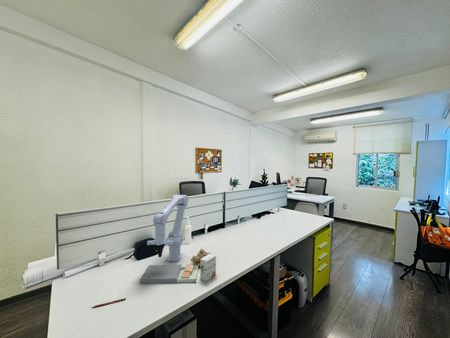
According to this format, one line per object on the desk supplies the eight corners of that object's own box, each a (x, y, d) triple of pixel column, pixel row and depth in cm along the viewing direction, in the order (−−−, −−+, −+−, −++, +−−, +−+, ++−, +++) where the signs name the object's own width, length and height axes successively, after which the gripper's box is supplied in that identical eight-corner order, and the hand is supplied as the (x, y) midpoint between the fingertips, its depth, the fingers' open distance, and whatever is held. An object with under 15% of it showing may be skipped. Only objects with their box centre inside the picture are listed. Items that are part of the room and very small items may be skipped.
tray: (181, 269, 110) (181, 266, 110) (198, 269, 110) (198, 266, 110) (176, 282, 98) (176, 279, 98) (195, 282, 98) (195, 278, 98)
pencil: (91, 308, 80) (91, 306, 80) (125, 299, 86) (125, 297, 86) (90, 309, 79) (90, 307, 79) (125, 300, 85) (125, 298, 85)
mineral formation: (201, 256, 126) (219, 261, 118) (189, 268, 115) (207, 275, 107) (200, 245, 125) (217, 250, 117) (187, 257, 113) (205, 263, 106)
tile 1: (186, 266, 110) (186, 263, 109) (193, 266, 109) (193, 264, 108) (184, 272, 105) (184, 270, 105) (191, 273, 105) (191, 271, 104)
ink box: (210, 271, 108) (210, 252, 108) (216, 274, 105) (216, 255, 105) (199, 278, 102) (199, 258, 101) (205, 282, 99) (205, 261, 98)
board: (148, 269, 109) (148, 265, 109) (181, 268, 111) (181, 264, 110) (139, 283, 97) (139, 279, 96) (176, 282, 98) (176, 278, 98)
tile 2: (182, 275, 103) (182, 272, 103) (190, 275, 104) (190, 271, 103) (180, 280, 99) (181, 277, 99) (189, 280, 99) (189, 276, 99)
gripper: (145, 236, 101) (145, 260, 101) (171, 236, 102) (170, 259, 102) (149, 232, 108) (149, 253, 108) (173, 231, 109) (173, 253, 109)
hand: (160, 256), depth 106 cm, fingers closed
